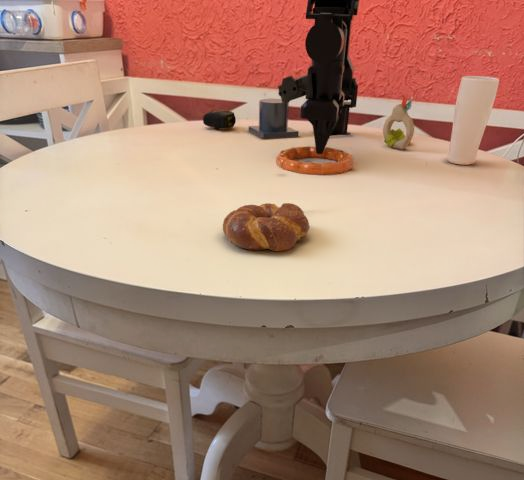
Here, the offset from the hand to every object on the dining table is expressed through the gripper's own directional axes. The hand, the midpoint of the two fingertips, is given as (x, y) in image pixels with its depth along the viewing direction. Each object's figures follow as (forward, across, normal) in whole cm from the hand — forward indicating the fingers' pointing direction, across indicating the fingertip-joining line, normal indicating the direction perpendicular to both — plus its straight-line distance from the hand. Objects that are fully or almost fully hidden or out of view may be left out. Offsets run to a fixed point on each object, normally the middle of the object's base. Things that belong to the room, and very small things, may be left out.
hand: (320, 152), depth 96 cm
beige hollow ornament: (+2, -19, +16) cm, 25 cm away
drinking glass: (+2, -9, +28) cm, 29 cm away
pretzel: (+2, +41, -2) cm, 41 cm away
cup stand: (+2, -24, -14) cm, 27 cm away
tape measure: (+2, -25, -27) cm, 37 cm away
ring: (0, +6, 0) cm, 6 cm away
